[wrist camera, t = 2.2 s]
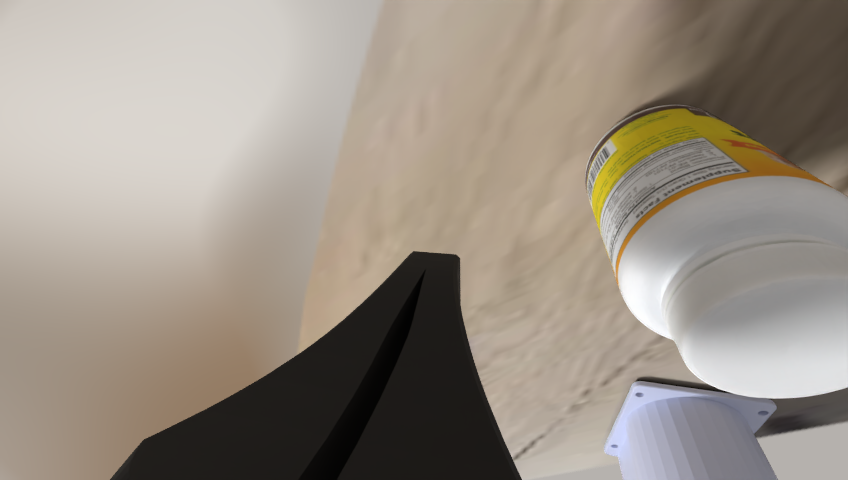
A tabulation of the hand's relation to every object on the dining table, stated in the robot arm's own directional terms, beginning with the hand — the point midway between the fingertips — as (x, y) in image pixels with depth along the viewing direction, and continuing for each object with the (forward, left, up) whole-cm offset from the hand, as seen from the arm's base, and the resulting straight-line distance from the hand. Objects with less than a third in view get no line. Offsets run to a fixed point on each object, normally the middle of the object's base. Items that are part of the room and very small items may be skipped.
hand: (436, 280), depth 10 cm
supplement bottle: (0, -8, -9) cm, 12 cm away
